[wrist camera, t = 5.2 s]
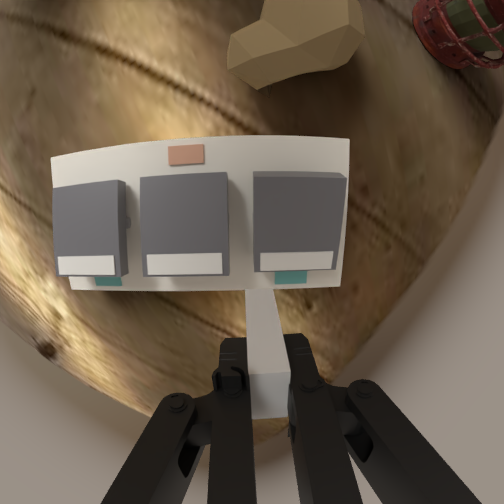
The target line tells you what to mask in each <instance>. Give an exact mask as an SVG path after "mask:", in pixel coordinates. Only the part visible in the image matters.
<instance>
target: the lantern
mask: <svg viewBox="0 0 504 504" xmlns="http://www.w3.org/2000/svg"><path fill="white" fill-rule="evenodd" d="M412 21H413V24H414V27H415V29H416V32H417V35H418V37H419V39H420V40H421V42H422V43H423V45H424V46H425V48H426V49H427V50H428V51H429V52H430V53H431V54H432V55H433V56H434V57H435V58H436V59H437V60H438V61H439V62H441V63H443V64H445V65H446V66H448V67H451V68H454V69H462V68H465V67H468V66H469V65H470V64H472V65H473V66H475V67H485V68H488V69H489V68H492V69H496V68H499V67H501V66H502V65H504V0H420V1H419V2H417V3H416V5H415V6H414V9H413V12H412ZM497 50H501V51H502V52H503V55H502V57H501V58H499V59H494V60H492V59H490V58H488V57H485V56H482V55H483V54H484V53H485V51H497ZM482 58H484V59H487V60H489V61H488V62H485V61H482V60H480V59H482ZM490 61H491V62H490ZM473 62H476V63H478V64H475V63H473Z"/></svg>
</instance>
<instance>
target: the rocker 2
mask: <svg viewBox="0 0 504 504" xmlns="http://www.w3.org/2000/svg"><path fill="white" fill-rule="evenodd" d="M346 185H347V178H346V177H345V176H344V175H342V174H341V173H338V172H308V171H253V263H254V272H282V271H312V270H336V265H337V258H338V252H339V244H340V237H341V229H342V222H343V213H344V204H345V195H346Z"/></svg>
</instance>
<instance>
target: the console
mask: <svg viewBox="0 0 504 504" xmlns="http://www.w3.org/2000/svg"><path fill="white" fill-rule="evenodd" d="M51 168H52V180H53V188H57V187H63V186H70V185H77V184H84V183H92V182H100V181H108V180H117V179H118V180H121V181H124V182H126V236H127V255H128V270H129V273H128V274H126V275H124V276H122V277H69V280H70V284H71V288H72V289H75V290H113V291H227V290H245V289H264V288H273V289H295V288H318V287H338V286H340V282H341V274H342V264H343V254H344V244H345V232H346V218H347V202H348V182H349V139H344V138H330V137H312V136H281V135H244V136H213V137H195V138H181V139H170V140H159V141H150V142H141V143H133V144H125V145H118V146H111V147H105V148H99V149H93V150H87V151H81V152H76V153H71V154H66V155H61V156H57V157H52V158H51ZM253 171H308V172H338V173H341V174H342V175H344V176H345V177H346V178H347V185H346V195H345V204H344V213H343V222H342V229H341V237H340V244H339V252H338V258H337V265H336V270H312V271H282V272H254V263H253ZM211 172H227V174H228V213H229V254H230V274H229V276H194V277H143V270H142V254H141V233H140V177H148V176H160V175H174V174H191V173H211Z"/></svg>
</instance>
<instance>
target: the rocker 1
mask: <svg viewBox="0 0 504 504" xmlns="http://www.w3.org/2000/svg"><path fill="white" fill-rule="evenodd" d="M53 241H54V256H55V268H56V276H63V277H122V276H124V275H126V274H128V273H129V270H128V255H127V236H126V182H124V181H121V180H118V179H117V180H108V181H100V182H92V183H84V184H77V185H70V186H63V187H57V188H53Z"/></svg>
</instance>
